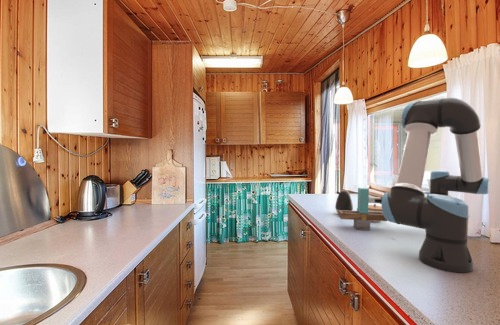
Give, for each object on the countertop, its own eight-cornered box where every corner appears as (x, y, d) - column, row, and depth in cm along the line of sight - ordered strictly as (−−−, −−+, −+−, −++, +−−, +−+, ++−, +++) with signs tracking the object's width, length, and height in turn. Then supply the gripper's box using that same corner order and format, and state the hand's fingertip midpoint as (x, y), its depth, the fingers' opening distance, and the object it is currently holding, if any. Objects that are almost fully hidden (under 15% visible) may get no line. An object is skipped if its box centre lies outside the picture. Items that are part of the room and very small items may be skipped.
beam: (387, 231, 129) (387, 215, 128) (340, 229, 131) (341, 213, 131) (381, 227, 136) (382, 211, 135) (337, 225, 138) (338, 210, 138)
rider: (368, 219, 130) (369, 189, 129) (360, 219, 130) (361, 189, 130) (364, 216, 136) (365, 187, 135) (356, 215, 136) (357, 187, 136)
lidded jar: (380, 218, 154) (381, 202, 153) (388, 223, 143) (388, 206, 143) (361, 217, 155) (361, 202, 154) (367, 222, 144) (368, 205, 144)
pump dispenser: (331, 212, 166) (332, 189, 166) (346, 212, 168) (347, 188, 168) (340, 216, 156) (341, 191, 156) (356, 216, 158) (356, 191, 158)
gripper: (423, 212, 124) (371, 210, 127) (410, 206, 137) (363, 204, 139) (424, 196, 123) (372, 194, 126) (411, 192, 136) (363, 190, 139)
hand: (367, 199), depth 133 cm, fingers closed
